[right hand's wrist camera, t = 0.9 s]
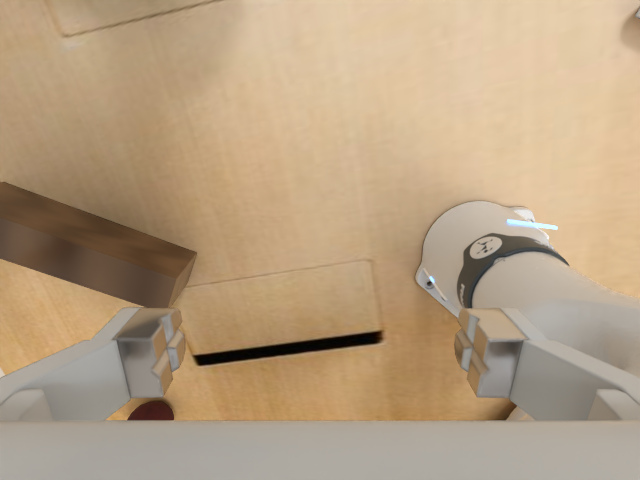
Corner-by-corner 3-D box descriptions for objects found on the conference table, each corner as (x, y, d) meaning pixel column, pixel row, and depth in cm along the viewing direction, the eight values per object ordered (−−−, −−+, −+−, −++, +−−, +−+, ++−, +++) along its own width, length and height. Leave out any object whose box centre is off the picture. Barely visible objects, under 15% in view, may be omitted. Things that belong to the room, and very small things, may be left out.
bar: (197, 252, 53) (176, 279, 45) (187, 283, 55) (165, 314, 47) (3, 181, 49) (-57, 197, 41) (-1, 217, 51) (-58, 239, 43)
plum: (129, 405, 64) (107, 441, 57) (158, 385, 62) (139, 418, 56) (159, 429, 66) (142, 465, 59) (189, 409, 64) (174, 444, 58)
